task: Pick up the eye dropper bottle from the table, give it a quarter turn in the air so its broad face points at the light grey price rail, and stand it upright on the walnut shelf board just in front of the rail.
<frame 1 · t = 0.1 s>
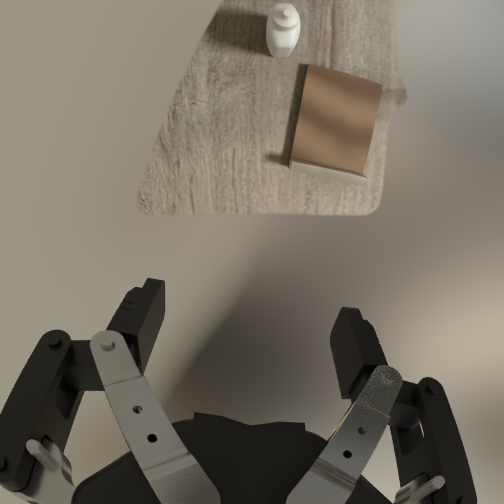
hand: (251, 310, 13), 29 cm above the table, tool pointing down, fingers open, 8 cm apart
walnut shelf board: (335, 123, 36), on the table
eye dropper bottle: (279, 38, 31), on the table
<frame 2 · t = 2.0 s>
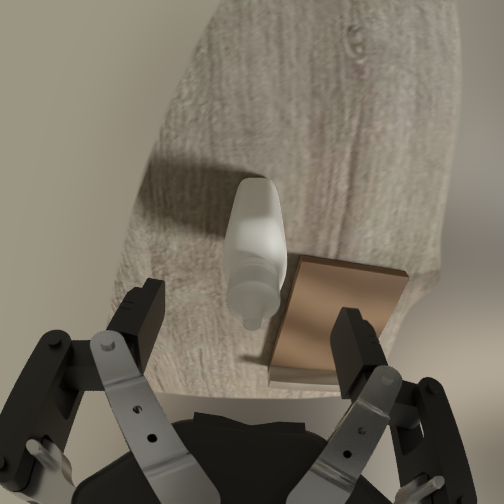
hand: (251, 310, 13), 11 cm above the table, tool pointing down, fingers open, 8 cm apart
walnut shelf board: (332, 325, 28), on the table
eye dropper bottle: (257, 211, 23), on the table
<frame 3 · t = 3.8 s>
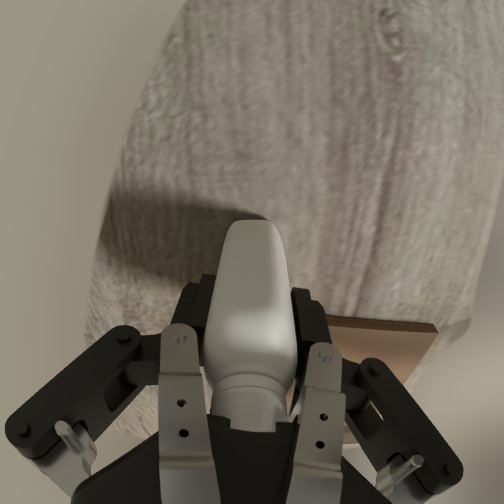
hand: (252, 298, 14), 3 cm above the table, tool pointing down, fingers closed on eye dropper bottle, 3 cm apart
walnut shelf board: (343, 383, 22), on the table
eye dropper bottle: (253, 261, 17), on the table, touching gripper
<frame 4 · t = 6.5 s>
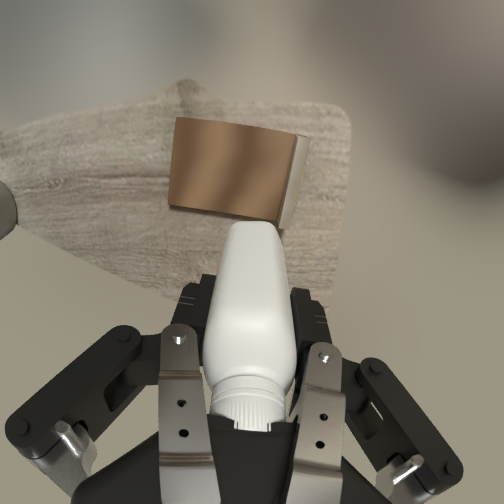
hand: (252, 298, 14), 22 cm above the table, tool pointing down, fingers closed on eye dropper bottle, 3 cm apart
walnut shelf board: (234, 168, 33), on the table
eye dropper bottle: (253, 262, 17), point 18 cm above the table, touching gripper
when the fingers open (5 cm above the table, at t = 9.4 s): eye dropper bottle drops 1 cm, resting on walnut shelf board.
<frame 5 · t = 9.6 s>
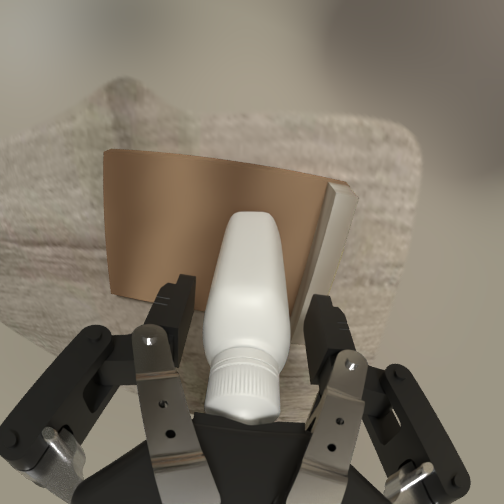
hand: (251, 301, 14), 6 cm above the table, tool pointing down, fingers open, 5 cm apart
walnut shelf board: (214, 239, 19), on the table
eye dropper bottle: (252, 251, 18), point 1 cm above the table, touching walnut shelf board
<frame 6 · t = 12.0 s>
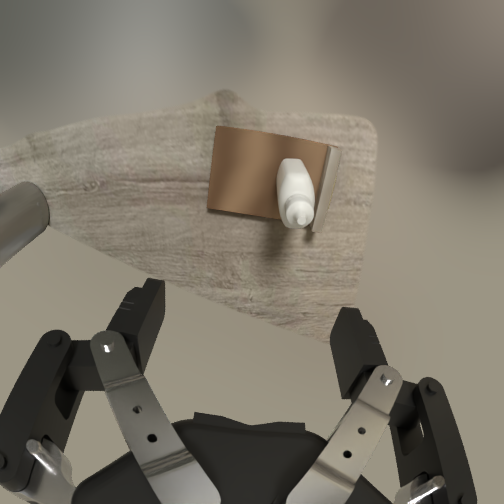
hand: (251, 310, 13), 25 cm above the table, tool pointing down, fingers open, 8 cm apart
walnut shelf board: (270, 175, 35), on the table
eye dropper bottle: (291, 180, 34), point 1 cm above the table, touching walnut shelf board
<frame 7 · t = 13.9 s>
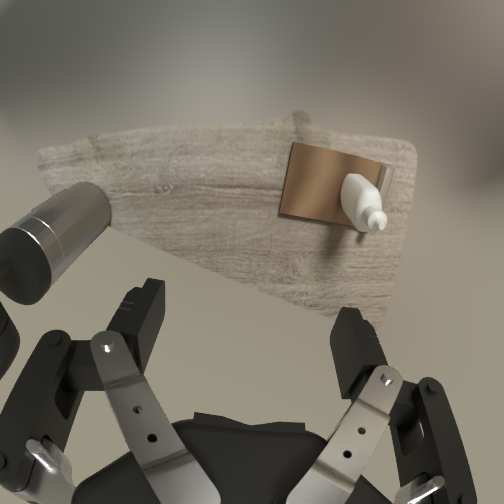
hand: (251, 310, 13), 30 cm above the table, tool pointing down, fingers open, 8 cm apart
walnut shelf board: (334, 186, 41), on the table
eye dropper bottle: (351, 191, 40), point 1 cm above the table, touching walnut shelf board
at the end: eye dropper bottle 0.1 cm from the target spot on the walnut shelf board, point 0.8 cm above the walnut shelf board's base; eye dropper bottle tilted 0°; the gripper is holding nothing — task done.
